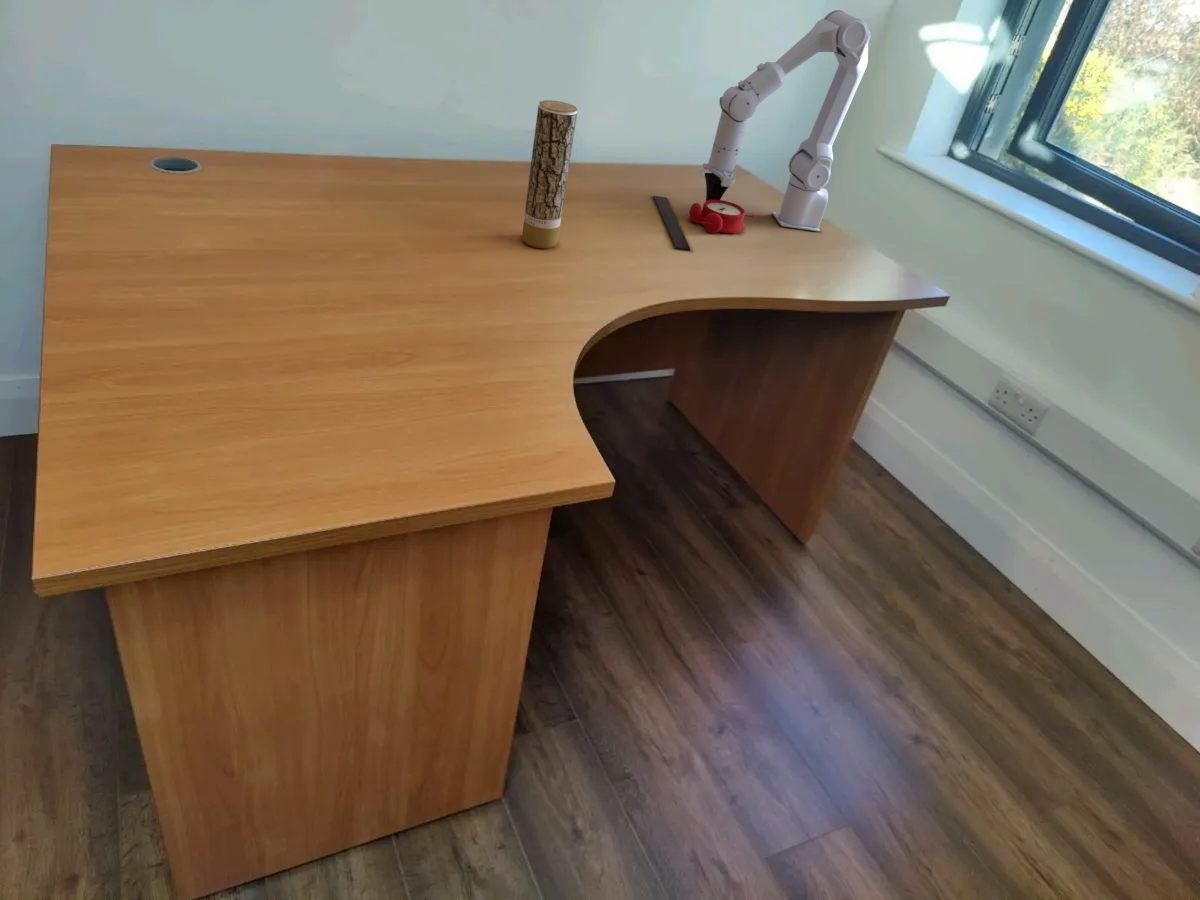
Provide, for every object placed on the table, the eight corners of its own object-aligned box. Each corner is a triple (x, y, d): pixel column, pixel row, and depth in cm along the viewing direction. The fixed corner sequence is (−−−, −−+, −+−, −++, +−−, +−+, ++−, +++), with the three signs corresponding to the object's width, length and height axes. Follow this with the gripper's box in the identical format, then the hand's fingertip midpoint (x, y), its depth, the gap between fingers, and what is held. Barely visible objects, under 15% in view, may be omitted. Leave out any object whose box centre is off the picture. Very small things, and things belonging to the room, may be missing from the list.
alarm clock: (760, 215, 183) (717, 205, 173) (748, 242, 186) (705, 234, 175) (728, 198, 189) (684, 187, 179) (716, 224, 192) (673, 215, 181)
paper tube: (551, 253, 155) (572, 114, 141) (516, 244, 156) (534, 105, 141) (560, 241, 161) (581, 106, 146) (527, 232, 161) (544, 97, 147)
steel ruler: (665, 199, 193) (666, 197, 192) (689, 250, 169) (690, 249, 168) (653, 197, 192) (653, 195, 192) (675, 249, 168) (676, 247, 168)
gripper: (702, 134, 185) (687, 194, 193) (715, 154, 174) (699, 217, 182) (732, 139, 187) (716, 198, 194) (747, 159, 175) (730, 221, 183)
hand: (710, 207), depth 188 cm, fingers closed
